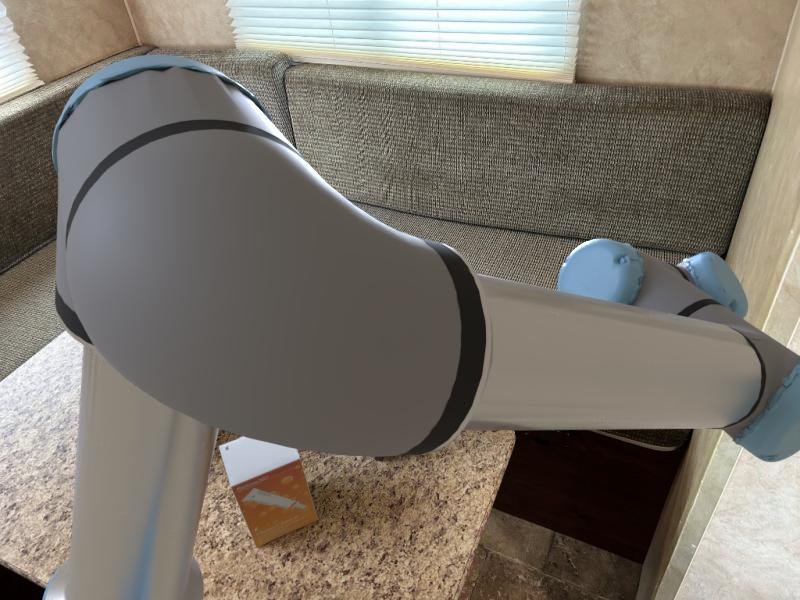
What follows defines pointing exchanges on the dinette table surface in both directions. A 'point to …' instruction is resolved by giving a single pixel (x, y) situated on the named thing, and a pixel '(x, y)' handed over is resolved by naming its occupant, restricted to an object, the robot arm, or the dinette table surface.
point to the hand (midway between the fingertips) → (454, 416)
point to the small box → (268, 487)
